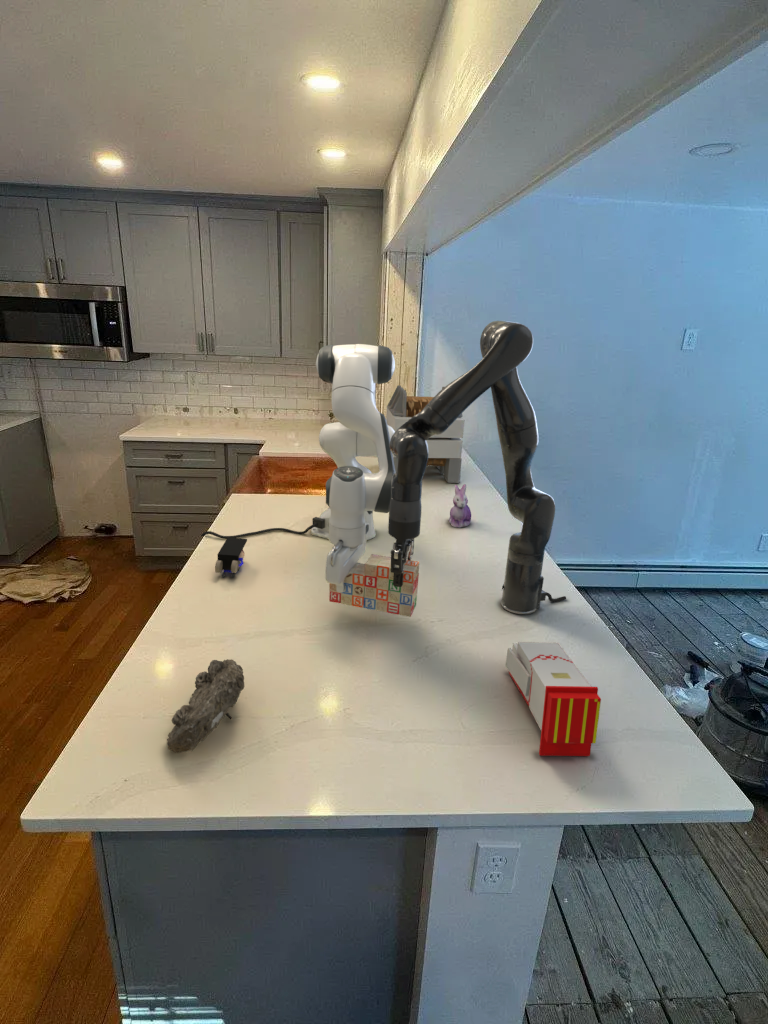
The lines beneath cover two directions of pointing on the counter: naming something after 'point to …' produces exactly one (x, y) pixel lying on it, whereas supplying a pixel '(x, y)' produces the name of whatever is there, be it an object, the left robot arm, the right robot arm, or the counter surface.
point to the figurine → (460, 508)
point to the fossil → (206, 705)
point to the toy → (556, 697)
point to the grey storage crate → (440, 447)
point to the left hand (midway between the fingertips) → (345, 584)
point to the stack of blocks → (379, 587)
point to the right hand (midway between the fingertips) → (401, 579)
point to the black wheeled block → (230, 556)
